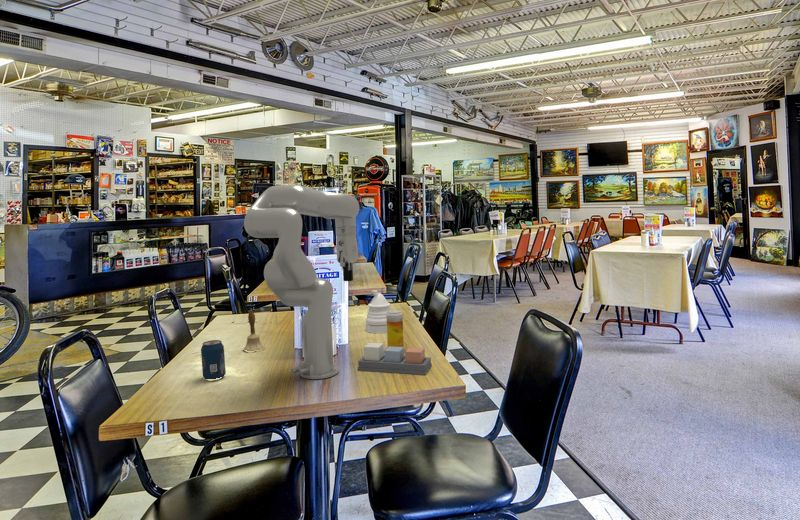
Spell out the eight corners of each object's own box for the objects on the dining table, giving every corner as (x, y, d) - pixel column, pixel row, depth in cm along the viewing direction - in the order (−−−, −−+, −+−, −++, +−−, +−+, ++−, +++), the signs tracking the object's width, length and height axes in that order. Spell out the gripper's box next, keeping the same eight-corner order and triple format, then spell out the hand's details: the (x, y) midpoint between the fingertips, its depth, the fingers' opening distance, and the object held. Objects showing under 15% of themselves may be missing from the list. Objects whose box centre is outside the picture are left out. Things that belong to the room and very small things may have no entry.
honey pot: (373, 335, 200) (371, 293, 198) (361, 329, 211) (359, 290, 210) (399, 330, 206) (398, 290, 204) (386, 325, 217) (385, 287, 216)
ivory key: (384, 356, 159) (383, 343, 159) (379, 360, 154) (378, 347, 154) (369, 355, 161) (369, 342, 160) (364, 359, 156) (363, 346, 155)
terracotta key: (425, 361, 155) (424, 348, 154) (421, 366, 150) (420, 352, 150) (410, 360, 156) (409, 347, 156) (405, 365, 152) (405, 351, 151)
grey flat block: (431, 365, 156) (431, 357, 156) (425, 375, 148) (424, 365, 147) (367, 361, 163) (367, 353, 163) (357, 370, 155) (357, 361, 154)
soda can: (203, 376, 154) (200, 341, 153) (225, 373, 156) (223, 338, 155) (202, 383, 147) (199, 346, 146) (226, 380, 150) (223, 343, 149)
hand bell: (265, 350, 182) (263, 310, 180) (243, 353, 179) (240, 313, 177) (263, 345, 189) (261, 307, 188) (242, 348, 186) (239, 309, 185)
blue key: (404, 360, 157) (403, 347, 157) (399, 364, 152) (399, 351, 152) (389, 359, 159) (389, 346, 158) (384, 363, 154) (384, 350, 153)
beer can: (402, 353, 172) (400, 313, 171) (386, 352, 174) (384, 313, 172) (405, 348, 178) (403, 309, 177) (389, 347, 180) (388, 309, 178)
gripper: (347, 232, 164) (349, 284, 166) (363, 230, 178) (365, 278, 180) (327, 233, 166) (330, 283, 168) (345, 231, 181) (347, 278, 182)
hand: (348, 280), depth 174 cm, fingers closed
